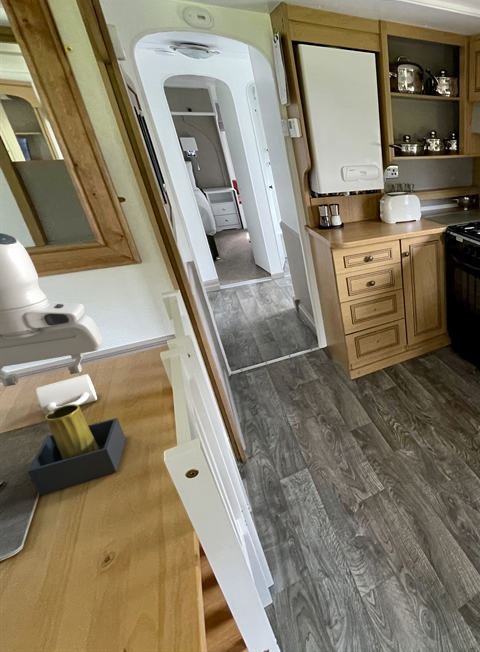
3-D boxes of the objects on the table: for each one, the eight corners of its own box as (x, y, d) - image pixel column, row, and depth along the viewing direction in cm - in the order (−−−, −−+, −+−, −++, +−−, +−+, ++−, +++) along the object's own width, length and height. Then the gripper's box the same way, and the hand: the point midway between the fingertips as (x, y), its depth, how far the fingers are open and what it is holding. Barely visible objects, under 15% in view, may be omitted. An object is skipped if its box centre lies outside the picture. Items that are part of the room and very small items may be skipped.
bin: (39, 495, 78) (26, 471, 76) (58, 457, 88) (47, 435, 85) (116, 471, 85) (106, 449, 82) (125, 439, 94) (117, 417, 92)
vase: (60, 476, 82) (34, 424, 77) (74, 456, 87) (50, 406, 82) (96, 468, 85) (73, 416, 79) (107, 449, 90) (87, 400, 85)
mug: (47, 407, 105) (36, 383, 102) (96, 392, 111) (86, 369, 108) (47, 428, 97) (34, 403, 94) (99, 411, 103) (89, 387, 101)
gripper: (-76, 334, 65) (-40, 401, 70) (85, 313, 75) (106, 372, 80) (-56, 321, 70) (-24, 384, 75) (93, 302, 80) (112, 359, 85)
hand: (45, 378), depth 78 cm, fingers open, 8 cm apart
